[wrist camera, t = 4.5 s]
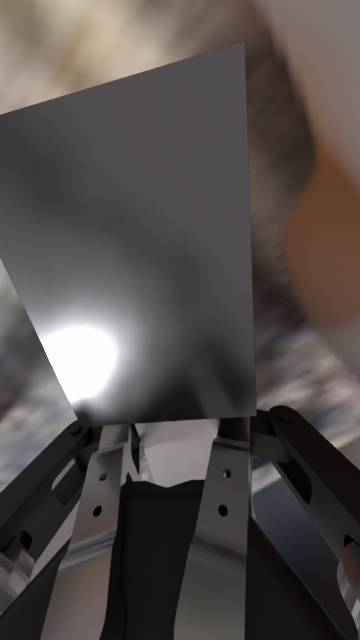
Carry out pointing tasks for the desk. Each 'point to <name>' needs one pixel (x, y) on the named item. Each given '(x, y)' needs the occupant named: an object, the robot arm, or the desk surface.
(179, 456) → the grey square post
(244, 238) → the sleeve
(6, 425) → the desk surface
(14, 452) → the desk surface
